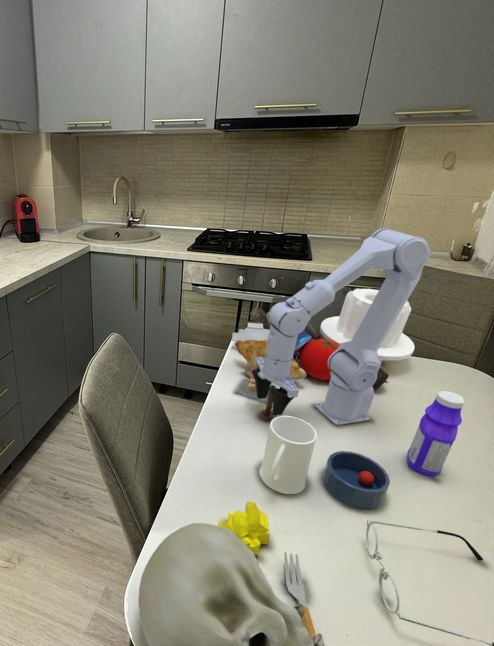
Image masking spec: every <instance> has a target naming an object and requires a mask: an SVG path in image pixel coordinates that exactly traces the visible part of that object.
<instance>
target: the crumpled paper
mask: <svg viewBox="0 0 494 646" xmlns="http://www.w3.org/2000/svg"><path fill="white" fill-rule="evenodd" d="M217 526H221V527H225V528H227V529H229V530H231V531H232V532H233V533H234V534H235V535H236V536H237V537H239V538H240V539H241V541H242V542H243V543H244V544H245V545H246V546H247V547H248V548H249V549H250V550H251V551H252V552H253V554H254V556H256V555H257V556H258V555H259V553H260V547H261V545H262V544H263V545H268V544H269V540H270V522H269V516H268V515H267V514H266V513H264V512H263V511H261V510H260V509H259V507H258V506H257V504H256V502H253V501H246V503H245V511H241V510H239V509H238V510H237V511H235V512H228V515H227V521H226V520H223V521H219V522H218V523H217Z"/></svg>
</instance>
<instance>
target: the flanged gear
mask: <svg viewBox="0 0 494 646" xmlns="http://www.w3.org/2000/svg"><path fill="white" fill-rule="evenodd" d="M379 290H380V289H372V288H359V287H357V288H355V289H353V290H350V291H348V292H347V293H346V296H345V299H344V301H343V304H342V308H341V311H340V314H339V315H337V316H331V317H327V318H325V319H323V320H322V322H321V324H320V327H319V331H320V333H321V335H322V337H324V339H325V338H326V339H327V340H331V341H335V342H337V343H343V342H348V341H351V340H352V338H353V336H354V335H355V333H356V331H357V329H358V327H359V326H360V324H361V322H362V320H363V318H364V317H365V315H366V313H367V311H368V309H369V308H370V306H371V304H372V302H373V301H374V299H375V297H376V295H377V293H378V292H379ZM411 312H412V307H411V305H410V302H409V300H407V301H406V303H405V305H404V306H403V308H402V310H401V312H400V313H399V315H398V317H397V318H396V320H395V322H394V323H393V325H392V327H391V328H390V330H389V332H388V333H387V335H386V337H385V339H384V340H383V342H382V344H381V345H380V347H379V349H378V350H377V354H378V357H379V360H380V363H381V365H382V364H383V361H401V360H405V359H408V358H411V356H412V355H413V354H414V351H415V344H414V342H413V340H411V338H410V337H409V336H407V335H406V334H405V333H403V331H404V328H405V326H406V323H407V321H408V319H409V316H410V314H411Z"/></svg>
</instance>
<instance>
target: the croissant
mask: <svg viewBox="0 0 494 646" xmlns="http://www.w3.org/2000/svg"><path fill="white" fill-rule="evenodd" d="M267 343H268V341H266V340H260V341H257V340H246V341H244V342H243V341H240V340H238V341H235V342H234V346H235V348H236V351H237V352H238V354H239V355H240V356H242V358H243V359H244V360H245V361H246V362H247V363H248V364H249V365H250V366H251V368H255V367H258V366H255V365H254V362H255V358H256V357H263V358H265V354H266V349H267ZM299 366H300V365H299ZM299 366H298V364H297V362H295V361H294V360H292V364H291V369H290V375H291V377H292V379H293V380H302V379H305V378H306V377H307V373H306V372H305V371H304V369H303V368H302V367H301V366H300V367H299Z"/></svg>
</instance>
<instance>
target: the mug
mask: <svg viewBox="0 0 494 646" xmlns="http://www.w3.org/2000/svg"><path fill="white" fill-rule="evenodd" d="M269 423H270V424H269V429H268V433H267V436H266V437H267V438H266V443H265V448H264V453H263V458H262V463H261V466H260V467H259V472H258V473H259V477H260V479H261V480H262V482H263V483H264V484H265V485H266V486H267V487H268V488H270V489H271V490H273V491H274V492H277V493H280V494H284V495H297V494H299V493H301V492H302V491H304V489H305V488H306V480H307V474H308V472H309V467H310V465H311V464H310V463H311V460H312V456H313V453H314V449H315V445H316V442H317V441H316V440H317V437H318V434H317V431H316V429H315V427H313V426H312V425H311V424H310V423H309V422H307V421H306V420H304V419H301V418H299V417H296V416H291V415H278V416H276V417H274V419H273V420H272V421H270V422H269Z"/></svg>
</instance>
